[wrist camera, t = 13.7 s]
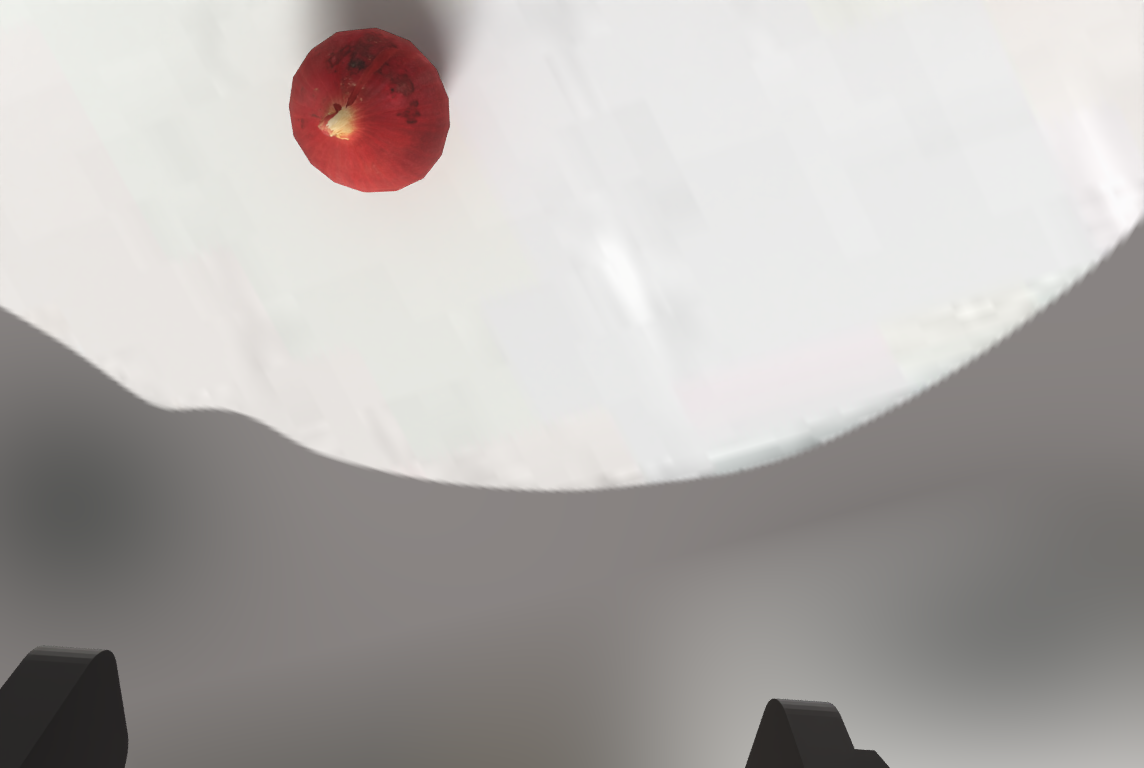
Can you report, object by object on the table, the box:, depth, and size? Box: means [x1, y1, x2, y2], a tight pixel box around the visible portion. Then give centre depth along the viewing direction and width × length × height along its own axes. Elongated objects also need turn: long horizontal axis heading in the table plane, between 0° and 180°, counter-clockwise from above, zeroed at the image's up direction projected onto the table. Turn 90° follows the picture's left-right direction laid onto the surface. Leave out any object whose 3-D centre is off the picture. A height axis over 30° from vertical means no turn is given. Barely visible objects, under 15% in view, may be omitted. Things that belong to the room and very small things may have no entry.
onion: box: [289, 28, 450, 192], centre depth 29 cm, size 6×6×8 cm
